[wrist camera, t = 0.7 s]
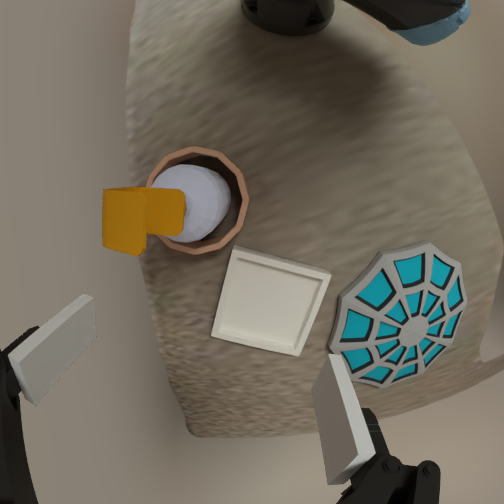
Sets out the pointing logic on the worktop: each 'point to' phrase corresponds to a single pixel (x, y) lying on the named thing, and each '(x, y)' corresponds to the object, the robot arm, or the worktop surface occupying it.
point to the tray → (269, 301)
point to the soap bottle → (165, 208)
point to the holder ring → (195, 151)
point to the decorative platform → (399, 315)
